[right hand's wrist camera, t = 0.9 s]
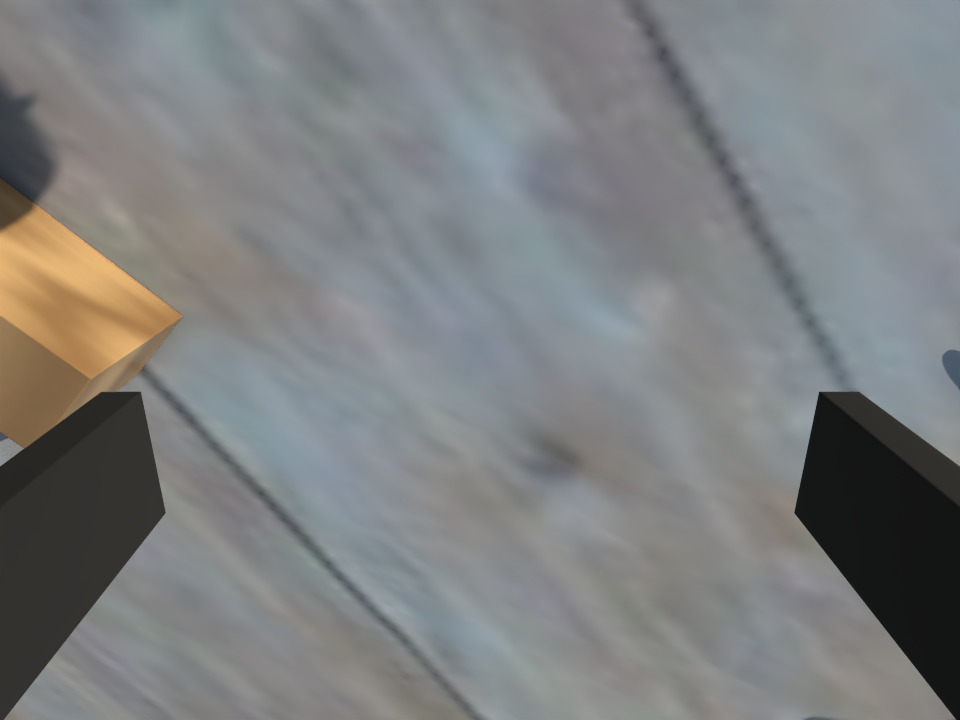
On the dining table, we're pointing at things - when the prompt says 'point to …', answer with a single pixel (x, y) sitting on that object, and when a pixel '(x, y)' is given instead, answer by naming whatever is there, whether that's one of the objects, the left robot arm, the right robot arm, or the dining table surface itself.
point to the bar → (64, 321)
